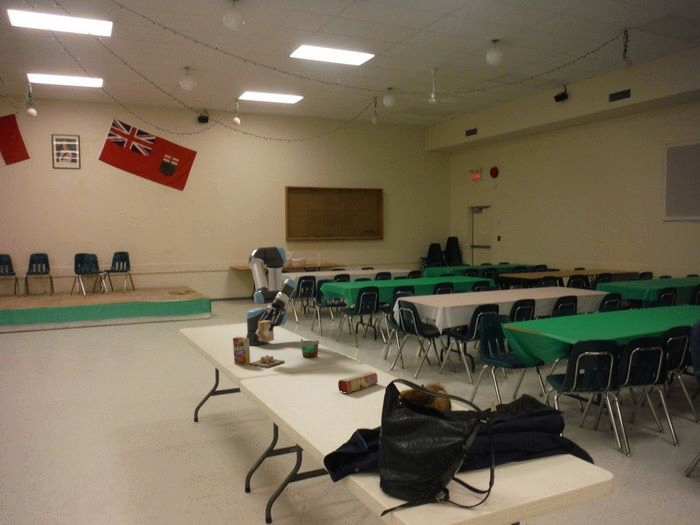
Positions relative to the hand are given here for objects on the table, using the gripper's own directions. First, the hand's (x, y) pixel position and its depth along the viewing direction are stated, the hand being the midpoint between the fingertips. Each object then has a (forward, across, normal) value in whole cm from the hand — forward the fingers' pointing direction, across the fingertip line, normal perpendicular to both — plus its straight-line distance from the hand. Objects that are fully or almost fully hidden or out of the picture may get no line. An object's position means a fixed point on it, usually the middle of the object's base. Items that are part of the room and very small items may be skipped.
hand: (261, 334), depth 309 cm
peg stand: (+10, 0, +15) cm, 18 cm away
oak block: (0, 0, +5) cm, 5 cm away
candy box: (+15, -13, +10) cm, 22 cm away
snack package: (+19, +72, +6) cm, 75 cm away
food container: (-6, +11, +31) cm, 34 cm away
